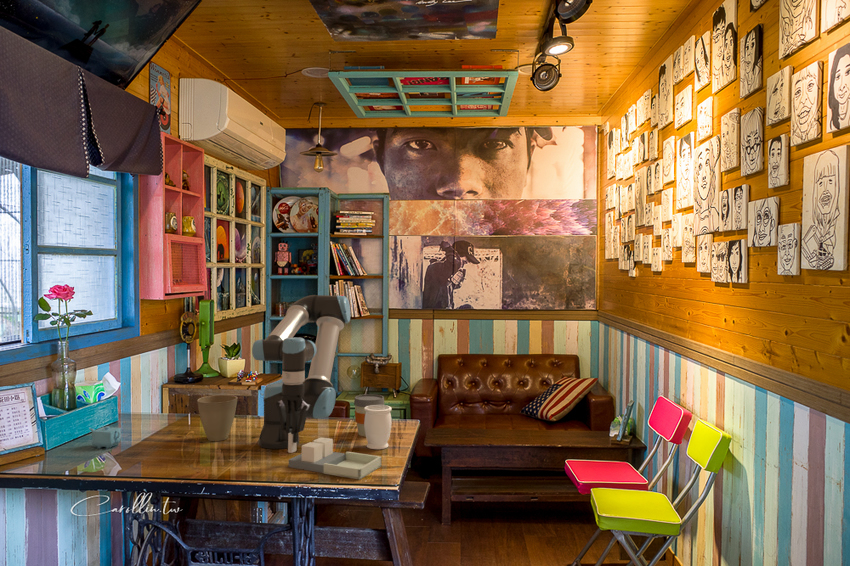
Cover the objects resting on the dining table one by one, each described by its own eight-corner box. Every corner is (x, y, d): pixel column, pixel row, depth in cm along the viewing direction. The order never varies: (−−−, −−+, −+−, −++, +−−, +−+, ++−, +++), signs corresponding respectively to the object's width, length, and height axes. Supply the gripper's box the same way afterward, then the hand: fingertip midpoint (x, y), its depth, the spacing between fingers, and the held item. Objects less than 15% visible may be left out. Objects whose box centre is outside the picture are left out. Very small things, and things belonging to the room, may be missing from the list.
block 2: (312, 455, 196) (312, 440, 196) (320, 451, 201) (320, 437, 201) (324, 457, 194) (325, 442, 194) (332, 453, 199) (332, 439, 199)
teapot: (83, 448, 209) (83, 428, 209) (93, 443, 215) (94, 424, 215) (114, 449, 208) (115, 429, 208) (124, 444, 214) (124, 425, 214)
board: (288, 467, 191) (288, 459, 191) (312, 455, 204) (312, 448, 204) (323, 473, 186) (323, 465, 186) (345, 460, 199) (345, 453, 199)
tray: (323, 473, 185) (323, 463, 185) (346, 460, 199) (347, 451, 199) (359, 479, 180) (360, 469, 180) (381, 466, 194) (381, 456, 194)
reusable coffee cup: (358, 438, 226) (359, 401, 226) (349, 431, 238) (350, 395, 238) (388, 435, 231) (388, 399, 231) (378, 428, 243) (378, 393, 243)
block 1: (301, 460, 190) (301, 445, 190) (310, 456, 195) (310, 441, 195) (314, 462, 188) (314, 447, 188) (322, 458, 193) (322, 443, 193)
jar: (387, 451, 210) (387, 411, 210) (360, 449, 212) (360, 409, 212) (394, 443, 220) (394, 405, 220) (368, 441, 222) (369, 403, 222)
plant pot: (217, 432, 234) (217, 393, 234) (245, 436, 227) (245, 397, 227) (188, 441, 220) (188, 400, 220) (216, 446, 214) (217, 404, 214)
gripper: (270, 383, 194) (269, 452, 194) (302, 386, 189) (301, 457, 189) (284, 379, 201) (283, 446, 201) (315, 382, 196) (314, 451, 196)
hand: (292, 451), depth 195 cm, fingers closed
